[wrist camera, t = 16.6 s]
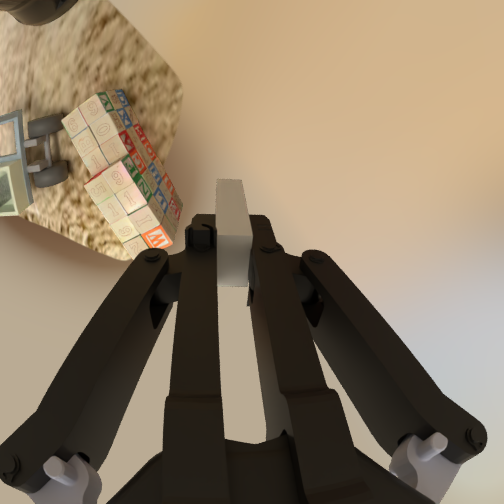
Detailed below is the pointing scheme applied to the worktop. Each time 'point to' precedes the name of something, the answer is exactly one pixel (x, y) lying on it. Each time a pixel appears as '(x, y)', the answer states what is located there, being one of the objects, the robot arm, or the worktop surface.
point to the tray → (14, 188)
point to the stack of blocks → (124, 172)
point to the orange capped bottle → (4, 190)
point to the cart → (38, 133)
